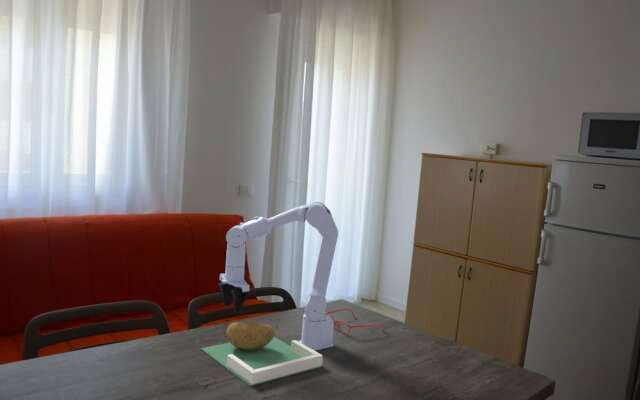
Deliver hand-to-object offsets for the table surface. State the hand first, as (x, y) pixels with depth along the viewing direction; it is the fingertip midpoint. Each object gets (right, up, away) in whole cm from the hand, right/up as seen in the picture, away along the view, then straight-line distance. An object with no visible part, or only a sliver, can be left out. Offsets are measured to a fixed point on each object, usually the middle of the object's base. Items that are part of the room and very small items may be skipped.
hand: (232, 308), depth 163 cm
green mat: (+10, -12, -12) cm, 19 cm away
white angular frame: (+14, -13, -17) cm, 26 cm away
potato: (+6, -11, -7) cm, 14 cm away
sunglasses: (+38, -11, +19) cm, 44 cm away
